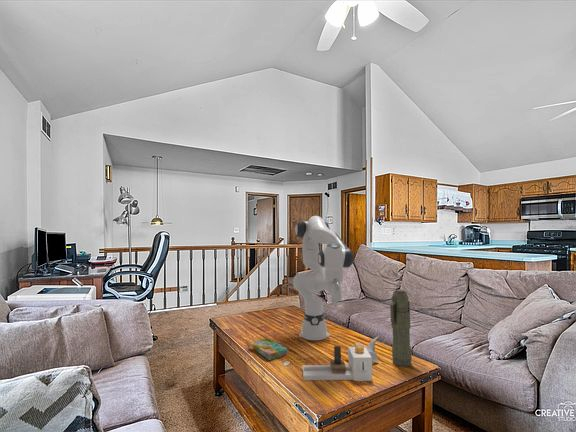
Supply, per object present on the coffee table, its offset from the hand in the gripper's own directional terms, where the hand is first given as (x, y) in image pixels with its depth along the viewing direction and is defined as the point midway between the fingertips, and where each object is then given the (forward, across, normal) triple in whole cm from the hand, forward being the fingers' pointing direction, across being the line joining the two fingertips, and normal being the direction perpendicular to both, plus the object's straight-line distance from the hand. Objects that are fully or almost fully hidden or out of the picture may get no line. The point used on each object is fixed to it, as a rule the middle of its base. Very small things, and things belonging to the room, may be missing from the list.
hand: (334, 305), depth 149 cm
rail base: (+29, -10, +1) cm, 30 cm away
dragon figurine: (+30, +7, -16) cm, 34 cm away
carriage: (+26, -10, 0) cm, 28 cm away
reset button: (+19, -10, -10) cm, 23 cm away
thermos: (+29, 0, -33) cm, 44 cm away
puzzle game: (+30, +16, +34) cm, 48 cm away
